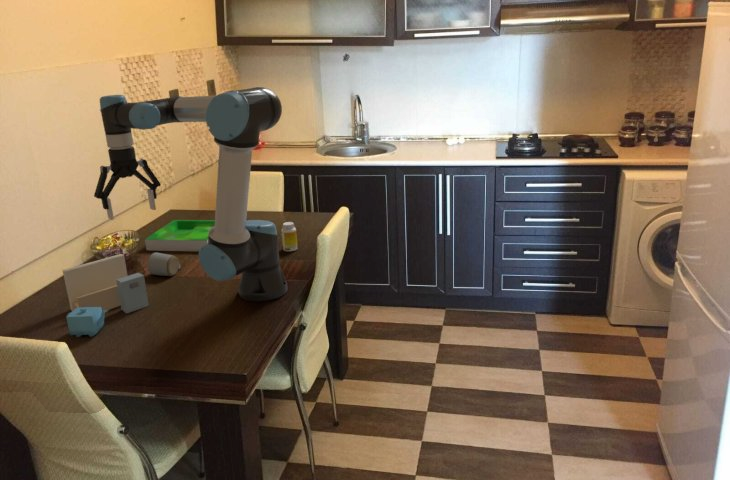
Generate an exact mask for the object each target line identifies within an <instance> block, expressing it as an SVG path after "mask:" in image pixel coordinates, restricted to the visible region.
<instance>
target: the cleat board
mask: <svg viewBox="0 0 730 480" xmlns="http://www.w3.org/2000/svg"><path fill="white" fill-rule="evenodd" d="M125 258H126V257H125V254H123V253H119V254H115V255H112V256H107V257H105V258H101V259H98V260H94V261H90V262H87V263H83V264H78V265H76V266H72V267H68V268H66V269H62V274H63V279H64V283H65V288H66V293H67V298H68V302H69V307H70V310H71V312H72V311H73V310H74V309H75V308H81V307H101V309H102V311H104V310H112V309H115V308H119V307H121V304H120V298H119V293H118V287H117V282H116V279H119V278H122V277H126V276H129V275H128V270H127V264H126V259H125Z"/></svg>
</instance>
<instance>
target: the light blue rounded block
mask: <svg viewBox="0 0 730 480" xmlns="http://www.w3.org/2000/svg"><path fill="white" fill-rule="evenodd" d="M109 310H110V309H109ZM109 310H104V311H102V309H101V307H81V308H75V309H74V310H73V311H72V310H71V311H70V312H68V313H67V315H66V317H65V319H66V323H67V327H68V330H69V331H68V333H69V336H75V337H76V338H81V337H82V336H87V335H88V337H95V335H97V334H98V332H99V331H100V330H101V329H102V328H103V327H104V325H105V314H107V312H109Z"/></svg>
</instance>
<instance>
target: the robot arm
mask: <svg viewBox="0 0 730 480" xmlns="http://www.w3.org/2000/svg"><path fill="white" fill-rule="evenodd" d="M99 105H100V107H99V108H100V110H99V111H100V114H101V115H100V116H101V119H102V123H103V124H102V125H103V128H104V129H103V130H104V134H105V135H104V136H105V141H106V145H107V148H108V151H107V152H108V156H109V163H110V165H108V166H107V165H106V166H104V165H101V166H100V167H99V169H100V174H99V176H98V181H97V184H96V188H95V191H94V194H93V197H94V198H96V199H99V200H101V204H102V208H103V210H106V213H107V218H108V220H111V221H113V220H115V218H114V212H113V208H112V202H111V198H110V197H109V196H110V194H111V193H112V191H113V189H114V187H115V185H116V184H117V182H118V181H119V180H120V179H126V178H131V177H133V176H134V177H136V178H137V179H139V181H141V182H142V184H144V185H146V187H148V188H147V197H148V204H149V209H150V210H153V211H156V210H157V207H156V201H155V200H156V199H157V191H156V190H157V188H158V187H160V186H161V184H162V183H161V182H160V180H159V179H158V178H157V176H156V175H155V174H154V173H153V170H152V169H151V168H150V167H149V164H148V161H147V159H144V158H140V160H137V158H136V157H137V156H136V150H135V147H134V146H133V145H134V139H133V133H132V129H135V130H138V129H139V130H141V131H143V130H144V131H145V130H152V129H155V128H156V127H157V126H162V125H166V124H173V123H206V127H208V128H209V129H208V131H209V133H210V134H211V135H212V136H213V141H214V142H215V143H216V145H217V146H218V147H219V148H218V161H217V162H218V163H217V164H218V165H217V180H216V183H217V184H216V196H215V197H216V199H215V213H214V214H215V215H214V216H215V217H214V220H215V226H214V227H213V228H211V229H210V230H209V235H208V244H205V245H204V246H203V247H202V248H201V249H200V251H198V261H199V264H200V266H201V268H202V270H204V272H205V274H206V275H208V276H209V278H211V279H212V280H215V281H218V282H225V281H228V280H231V279H234V278H235V277H237V276H238V275H240V274H241V275H240V279H239V285H238V295H239V297H240V298H241V299H243V300H246V301H248V302H249V301H250V302H267V301H268V302H269V301H271V300H276V299H279V298H280V297H283V296H284V295H285V294H287V292H288V282H287V279H286V277H285V275H284V272H283V270H282V268H281V263H280V252H279V239H278V235H279V234H278V232H277V226H276V224H275V223H274V222H272V221H270V220H264V219H248V220H247V216H248V215H247V213H248V201H249V191H250V190H249V189H250V182H251V181H250V180H251V169H252V168H251V167H252V157H253V150H255V149H256V148H257V147H258V146H259V141H260V133H261V132H264V131H268V130H270V129H272V128H273V127H275V126H276V125H277V124H278V122H279V121H280V119H281V117H282V113H283V107H282V102H281V100H280V97H279V96H278V94H276V93H275V92H274V91H273V90H271V89H270V88H266V87H262V86H261V87H260V86H257V87H250V88H245V89H243V88H242V89H239V90H238V89H237V90H234V89H233V90H228V91H225V92H221V93H219V94H217V95H199V96H198V95H197V96H182V95H181V96H178V95H175V96H171V97H166V98H165V97H164V98H159V99H152V100H145V101H139V102H128V101H127V98H126V95H124V94H110V95H103V96H101V97H100V98H99ZM138 167H141V168H142V170H143V171H144V173H145V174H146V175H147V177H148V178H149V179H150V180H149V179H147V178H146V177H145V176H144V175H142V174H141V172H140V171H138V170H137V168H138ZM110 171H111V172H112V174H111V176H110V179H109V180H108V182H107V184H106V181H107V179H108V174H109V173H110Z"/></svg>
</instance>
